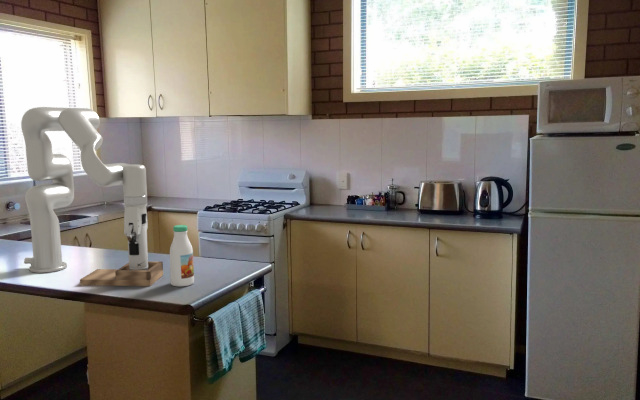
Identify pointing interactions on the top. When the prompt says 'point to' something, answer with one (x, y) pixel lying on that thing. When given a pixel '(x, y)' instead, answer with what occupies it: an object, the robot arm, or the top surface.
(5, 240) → the top surface
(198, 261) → the top surface
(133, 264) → the travel mug
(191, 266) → the milk bottle
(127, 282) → the open box
